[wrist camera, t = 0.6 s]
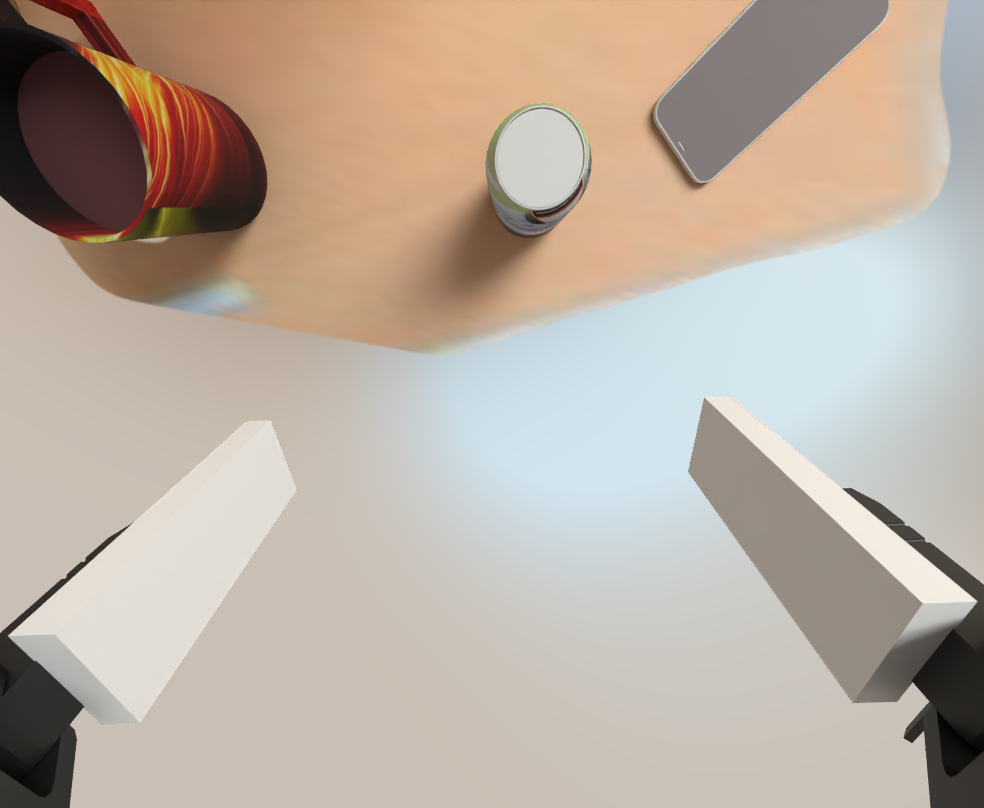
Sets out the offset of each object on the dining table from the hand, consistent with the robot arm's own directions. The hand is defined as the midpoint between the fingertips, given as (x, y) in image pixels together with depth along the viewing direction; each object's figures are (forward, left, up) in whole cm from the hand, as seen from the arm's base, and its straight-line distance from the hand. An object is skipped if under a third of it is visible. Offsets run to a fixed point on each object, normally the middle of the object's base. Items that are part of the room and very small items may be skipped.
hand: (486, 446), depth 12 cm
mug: (-12, -24, -26) cm, 37 cm away
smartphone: (-15, +20, -27) cm, 37 cm away
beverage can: (-8, +3, -26) cm, 27 cm away
